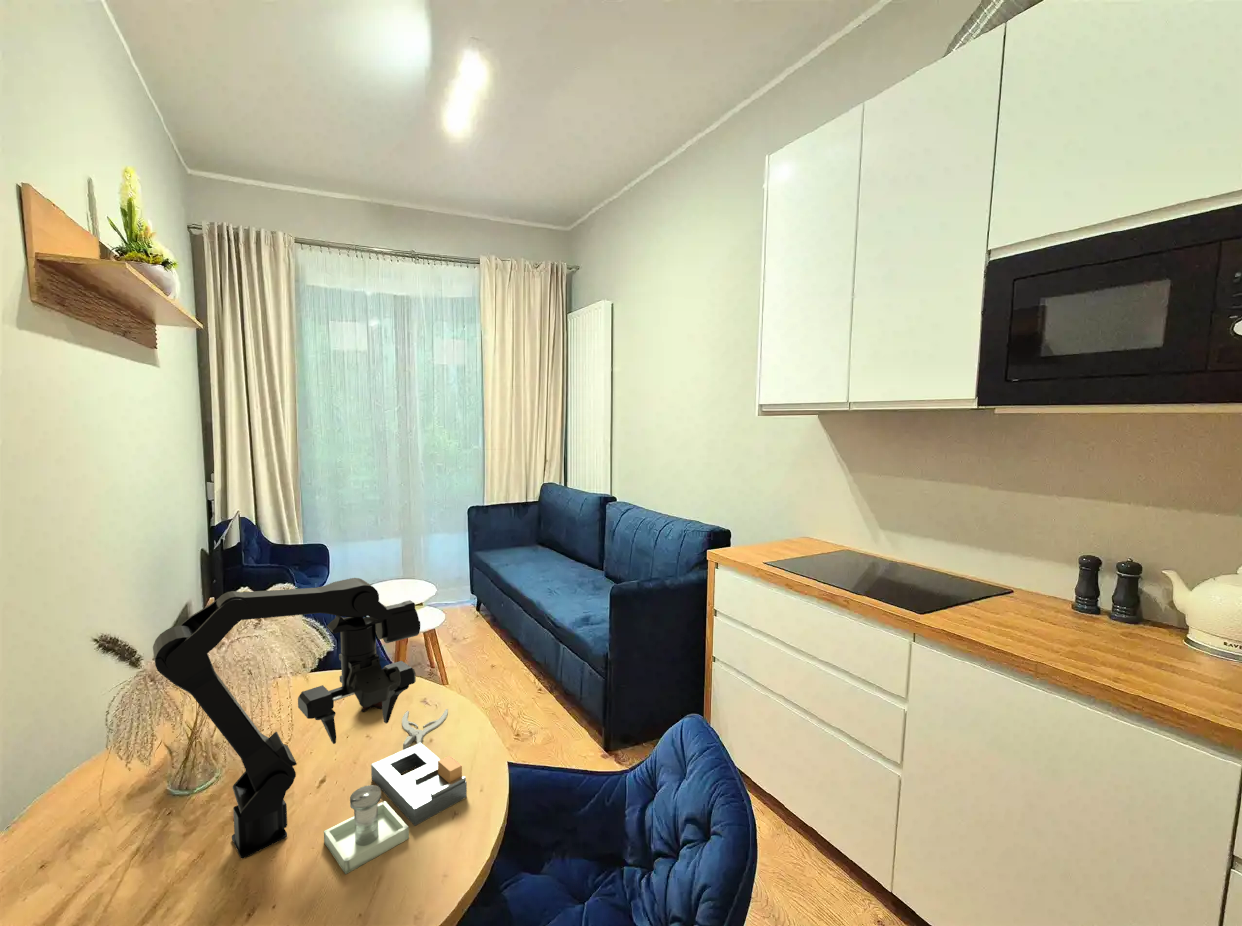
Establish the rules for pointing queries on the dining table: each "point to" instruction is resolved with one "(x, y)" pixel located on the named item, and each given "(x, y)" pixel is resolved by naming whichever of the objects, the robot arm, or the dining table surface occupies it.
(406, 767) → the metallic box with opening
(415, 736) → the pliers
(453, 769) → the block
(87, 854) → the dining table surface
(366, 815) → the pin
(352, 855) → the tray
